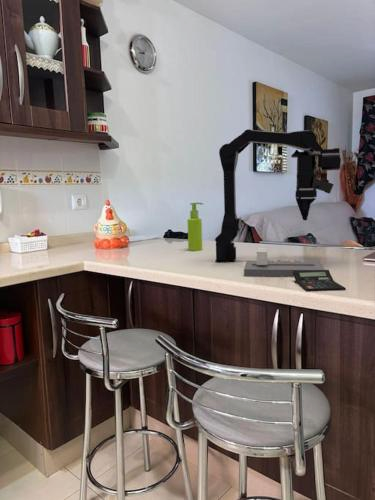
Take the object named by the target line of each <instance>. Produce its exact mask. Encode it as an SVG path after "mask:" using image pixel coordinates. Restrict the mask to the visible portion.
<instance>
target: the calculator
mask: <svg viewBox="0 0 375 500" xmlns="http://www.w3.org/2000/svg"><path fill="white" fill-rule="evenodd" d="M293 275H294V277H293V278H294V281H295V282H296V285H297V286H299V287H300V288H301V289H303V290H304V291H305V292H327V291H329V292H333V291H346V290H347V289H346V287H345V286H343V285H342V284H339V283H338V282H336V281H335V280H334V279H333V277H332V274H331V273H330V270H329V269H325V270H306V271H293Z"/></svg>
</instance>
